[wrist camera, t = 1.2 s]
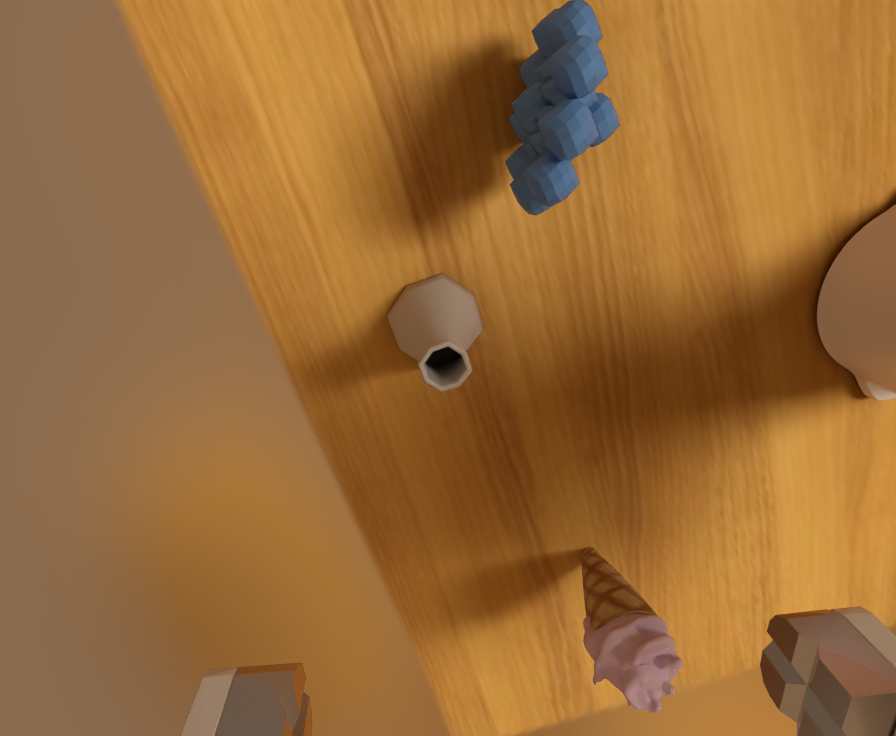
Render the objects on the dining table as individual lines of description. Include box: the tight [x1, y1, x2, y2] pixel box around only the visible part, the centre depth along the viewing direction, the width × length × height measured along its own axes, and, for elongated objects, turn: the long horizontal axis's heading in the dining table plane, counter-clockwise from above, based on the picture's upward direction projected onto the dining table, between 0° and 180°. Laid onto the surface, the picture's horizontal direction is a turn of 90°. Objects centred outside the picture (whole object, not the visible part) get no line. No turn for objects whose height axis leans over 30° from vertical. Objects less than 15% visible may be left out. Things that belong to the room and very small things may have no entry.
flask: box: [386, 273, 484, 393], centre depth 38 cm, size 7×7×10 cm
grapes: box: [505, 0, 620, 215], centre depth 32 cm, size 12×7×12 cm, turn 171°
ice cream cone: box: [581, 548, 683, 712], centre depth 45 cm, size 7×6×15 cm
